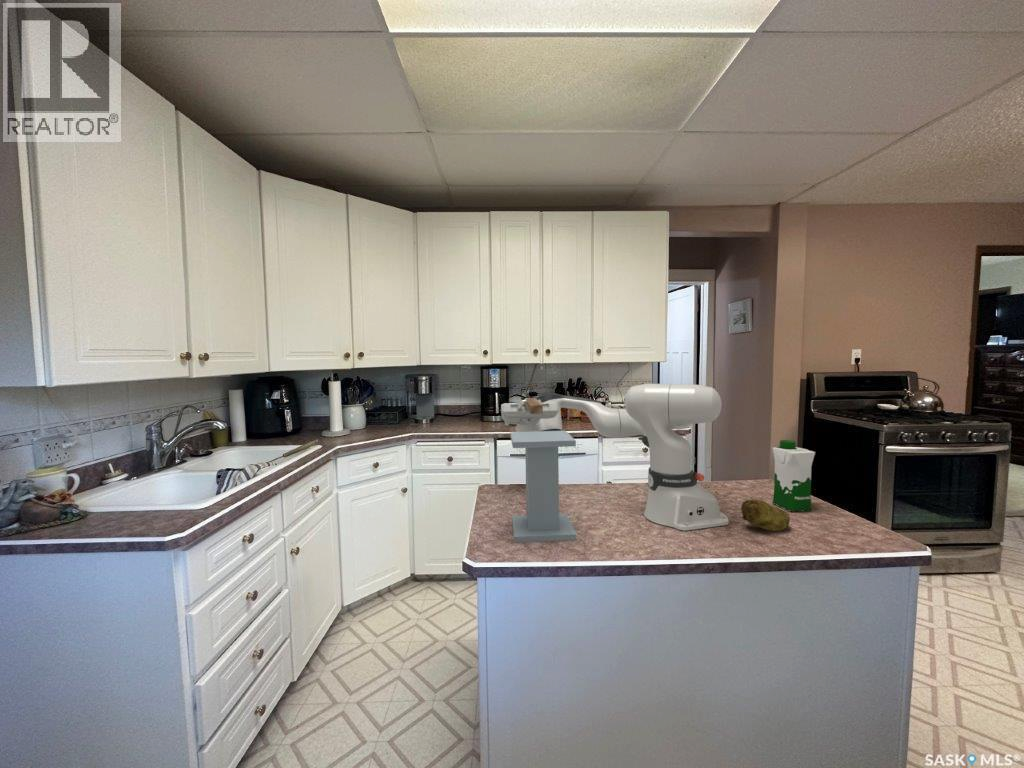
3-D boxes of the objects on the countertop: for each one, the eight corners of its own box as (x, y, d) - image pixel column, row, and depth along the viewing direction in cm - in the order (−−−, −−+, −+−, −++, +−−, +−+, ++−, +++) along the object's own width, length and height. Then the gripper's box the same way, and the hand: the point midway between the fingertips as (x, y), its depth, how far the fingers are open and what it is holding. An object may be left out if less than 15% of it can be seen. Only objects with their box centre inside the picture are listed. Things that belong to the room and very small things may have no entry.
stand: (566, 518, 117) (565, 430, 116) (576, 540, 103) (575, 440, 102) (512, 520, 117) (510, 432, 115) (514, 542, 103) (512, 442, 101)
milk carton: (792, 501, 128) (793, 439, 127) (817, 511, 119) (819, 445, 118) (767, 503, 127) (769, 440, 125) (791, 514, 118) (793, 446, 116)
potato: (800, 536, 103) (801, 506, 102) (747, 534, 105) (747, 504, 104) (784, 523, 111) (784, 495, 111) (734, 521, 113) (734, 493, 113)
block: (534, 404, 140) (534, 397, 140) (542, 413, 118) (542, 405, 118) (524, 405, 140) (524, 398, 140) (530, 414, 118) (530, 405, 118)
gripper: (557, 424, 147) (562, 409, 134) (501, 425, 146) (501, 411, 133) (555, 408, 149) (560, 392, 137) (500, 409, 148) (500, 393, 136)
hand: (531, 401), depth 135 cm, fingers closed on block, 3 cm apart
